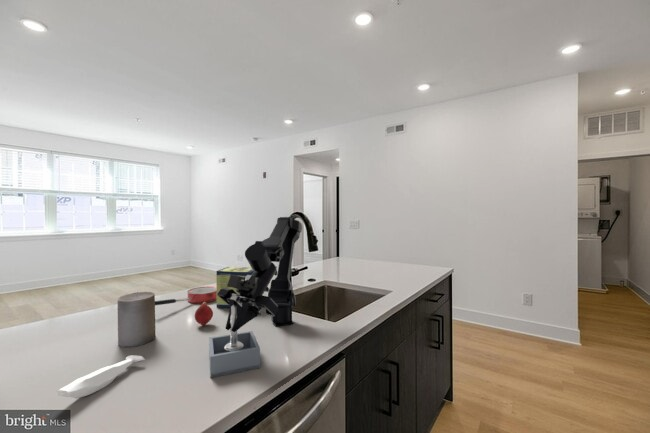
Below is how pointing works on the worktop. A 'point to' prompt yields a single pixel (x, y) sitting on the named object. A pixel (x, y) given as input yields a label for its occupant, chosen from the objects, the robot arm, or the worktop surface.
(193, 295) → the frying pan
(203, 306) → the pomegranate
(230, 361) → the tote
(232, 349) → the screw
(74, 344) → the worktop surface
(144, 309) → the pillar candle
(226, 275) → the protein box
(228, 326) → the robot arm
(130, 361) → the white fish figurine
